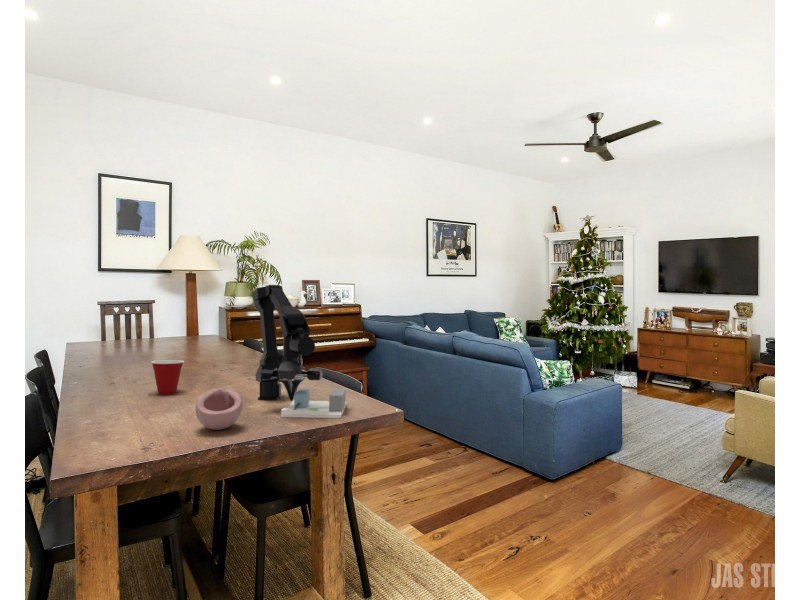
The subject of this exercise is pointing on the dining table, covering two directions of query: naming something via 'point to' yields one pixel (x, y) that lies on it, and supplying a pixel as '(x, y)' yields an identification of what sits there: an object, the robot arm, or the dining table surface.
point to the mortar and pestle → (218, 408)
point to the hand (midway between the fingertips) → (291, 400)
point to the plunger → (301, 398)
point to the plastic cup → (167, 375)
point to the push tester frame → (320, 407)
